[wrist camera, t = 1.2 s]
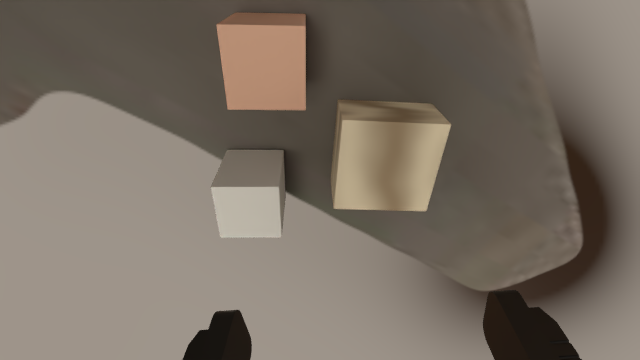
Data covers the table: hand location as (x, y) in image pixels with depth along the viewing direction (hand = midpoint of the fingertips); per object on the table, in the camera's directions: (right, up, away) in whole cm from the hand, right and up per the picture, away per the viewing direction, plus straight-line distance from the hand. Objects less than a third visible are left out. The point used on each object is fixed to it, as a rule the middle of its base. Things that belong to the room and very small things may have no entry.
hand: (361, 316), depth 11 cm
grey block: (-7, +5, +20) cm, 22 cm away
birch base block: (+4, +8, +19) cm, 21 cm away
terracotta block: (-5, +14, +14) cm, 21 cm away
